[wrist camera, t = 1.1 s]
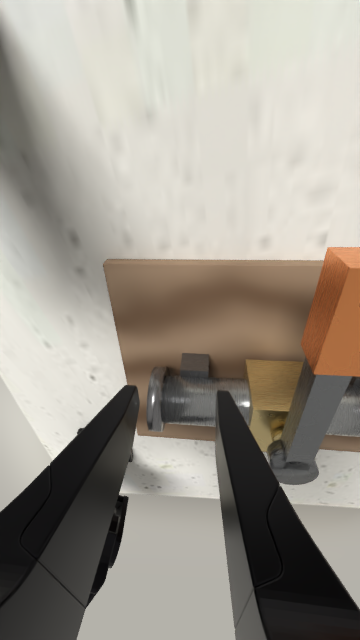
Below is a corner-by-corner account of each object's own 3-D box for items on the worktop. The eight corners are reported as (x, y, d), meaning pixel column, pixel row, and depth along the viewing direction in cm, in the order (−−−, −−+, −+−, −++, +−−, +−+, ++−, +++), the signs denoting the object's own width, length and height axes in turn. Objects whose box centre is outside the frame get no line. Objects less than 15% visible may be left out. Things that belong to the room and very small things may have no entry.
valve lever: (304, 459, 20) (313, 491, 18) (263, 455, 20) (268, 487, 18) (394, 247, 11) (431, 268, 9) (317, 247, 11) (338, 268, 9)
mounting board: (380, 445, 30) (384, 453, 29) (139, 427, 33) (137, 435, 32) (505, 261, 18) (519, 267, 17) (107, 259, 21) (102, 264, 20)
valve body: (379, 402, 25) (428, 478, 20) (161, 390, 27) (148, 454, 22) (405, 360, 22) (470, 435, 17) (157, 350, 24) (140, 412, 19)
